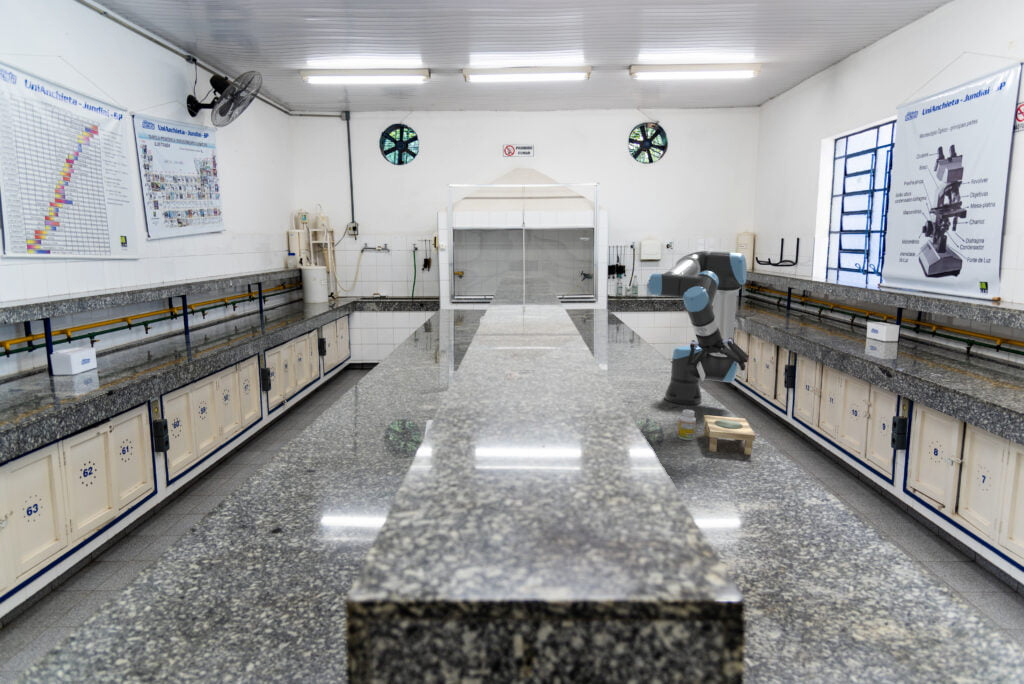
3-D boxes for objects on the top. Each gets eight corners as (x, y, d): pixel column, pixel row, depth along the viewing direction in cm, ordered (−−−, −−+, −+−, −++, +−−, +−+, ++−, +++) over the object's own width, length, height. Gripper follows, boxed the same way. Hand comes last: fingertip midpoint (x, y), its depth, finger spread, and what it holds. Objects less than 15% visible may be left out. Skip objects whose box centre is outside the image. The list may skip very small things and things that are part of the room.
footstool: (702, 433, 220) (704, 414, 218) (743, 437, 217) (745, 418, 216) (708, 451, 202) (710, 430, 201) (753, 455, 200) (755, 434, 198)
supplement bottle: (682, 434, 219) (684, 407, 217) (696, 437, 215) (699, 411, 213) (675, 437, 215) (678, 410, 213) (690, 441, 211) (692, 414, 209)
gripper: (667, 339, 207) (685, 385, 218) (743, 334, 192) (758, 383, 203) (672, 325, 212) (690, 371, 222) (747, 319, 197) (762, 368, 208)
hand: (723, 377), depth 213 cm, fingers open, 13 cm apart
